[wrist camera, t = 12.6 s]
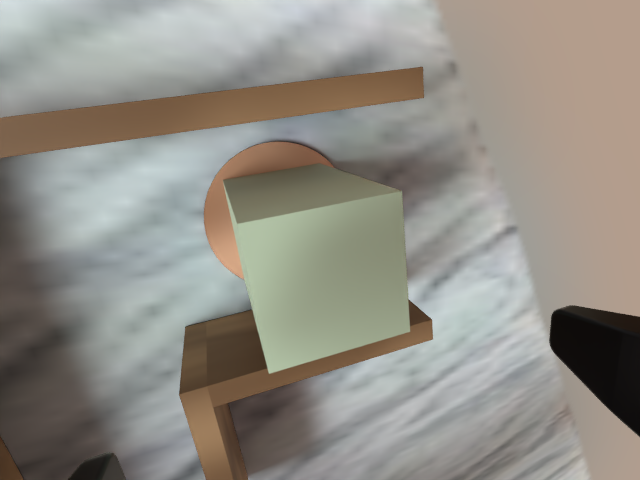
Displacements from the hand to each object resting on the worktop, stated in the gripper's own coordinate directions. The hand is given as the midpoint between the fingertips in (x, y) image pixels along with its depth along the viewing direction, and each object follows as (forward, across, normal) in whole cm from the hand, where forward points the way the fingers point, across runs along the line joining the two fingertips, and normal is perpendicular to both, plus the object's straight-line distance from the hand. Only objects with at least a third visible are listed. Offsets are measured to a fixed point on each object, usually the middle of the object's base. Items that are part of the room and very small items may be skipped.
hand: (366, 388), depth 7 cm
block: (+12, -1, -1) cm, 12 cm away
